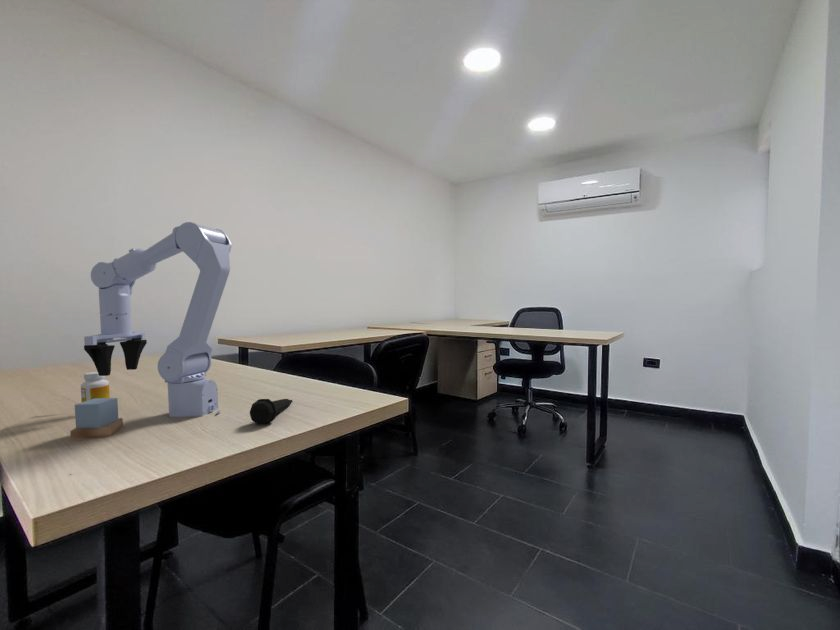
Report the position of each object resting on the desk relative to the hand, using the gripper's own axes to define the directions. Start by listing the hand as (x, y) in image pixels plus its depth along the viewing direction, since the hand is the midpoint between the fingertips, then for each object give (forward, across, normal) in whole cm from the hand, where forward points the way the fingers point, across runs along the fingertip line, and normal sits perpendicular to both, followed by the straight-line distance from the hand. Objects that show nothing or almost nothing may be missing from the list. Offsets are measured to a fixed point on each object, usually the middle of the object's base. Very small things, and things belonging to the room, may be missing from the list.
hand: (118, 372), depth 91 cm
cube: (+7, +16, +9) cm, 20 cm away
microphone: (+11, -1, +38) cm, 40 cm away
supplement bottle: (+11, -4, -10) cm, 15 cm away
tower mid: (+9, +16, +9) cm, 20 cm away
